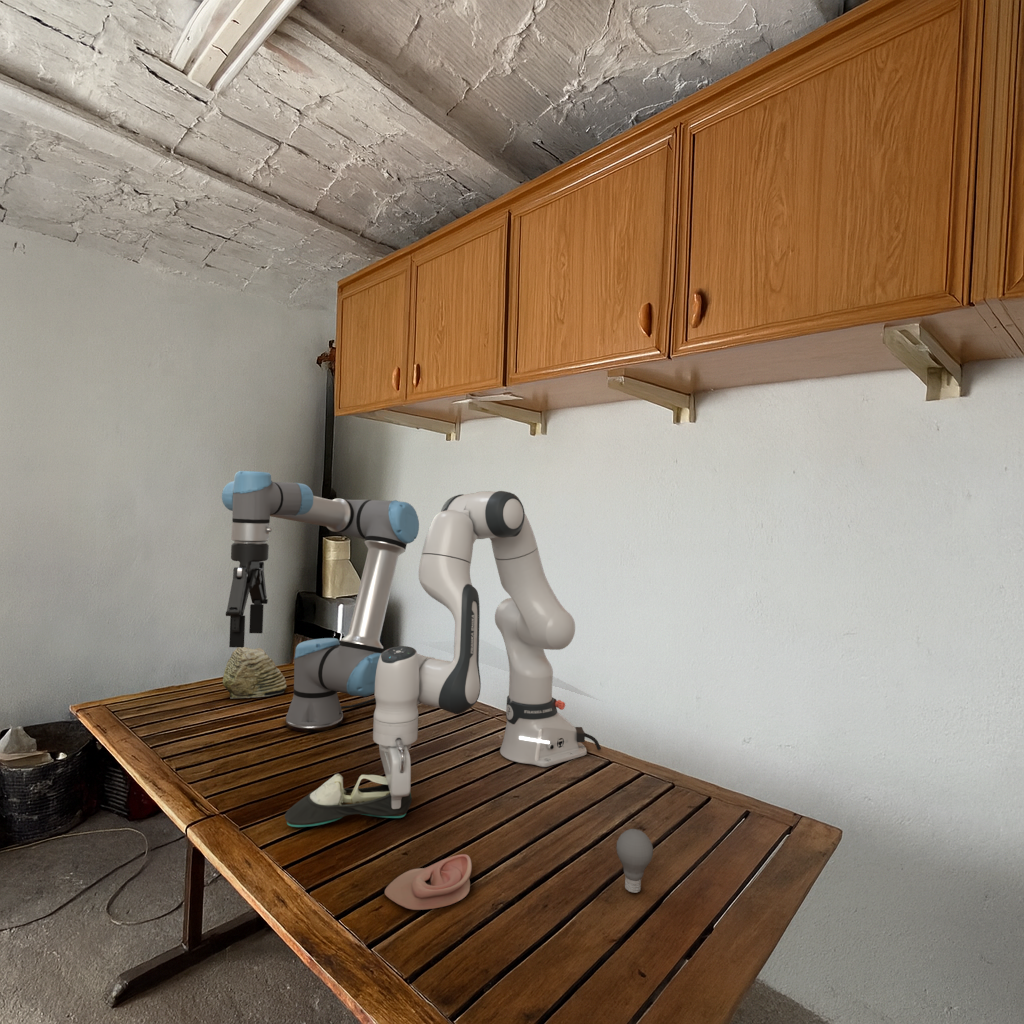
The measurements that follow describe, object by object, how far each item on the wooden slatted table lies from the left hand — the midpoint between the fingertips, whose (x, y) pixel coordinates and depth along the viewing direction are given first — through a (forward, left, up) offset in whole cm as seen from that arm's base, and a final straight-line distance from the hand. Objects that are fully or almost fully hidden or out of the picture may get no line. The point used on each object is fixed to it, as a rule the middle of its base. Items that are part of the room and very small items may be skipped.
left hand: (246, 639), depth 138 cm
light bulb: (-24, +82, -31) cm, 91 cm away
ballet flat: (-6, +29, -31) cm, 43 cm away
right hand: (-13, +35, -28) cm, 46 cm away
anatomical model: (-1, +57, -31) cm, 65 cm away
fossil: (-33, -54, -31) cm, 71 cm away
